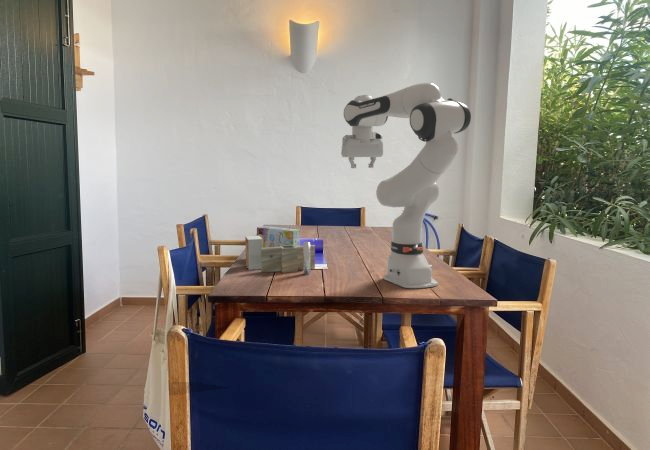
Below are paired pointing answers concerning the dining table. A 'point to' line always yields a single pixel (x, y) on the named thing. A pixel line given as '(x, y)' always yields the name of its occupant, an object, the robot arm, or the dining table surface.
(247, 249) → the small box
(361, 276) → the dining table surface
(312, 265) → the hinge
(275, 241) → the snack box
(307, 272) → the hinge pin
